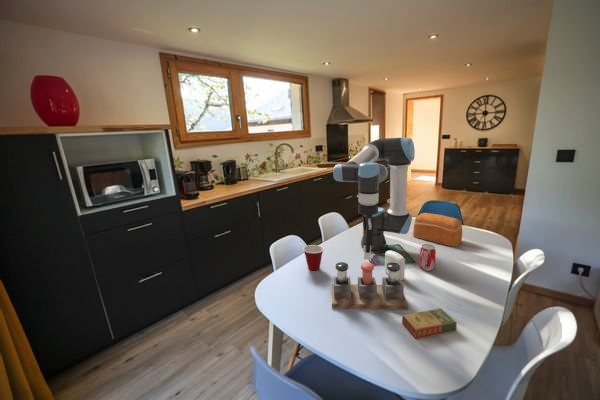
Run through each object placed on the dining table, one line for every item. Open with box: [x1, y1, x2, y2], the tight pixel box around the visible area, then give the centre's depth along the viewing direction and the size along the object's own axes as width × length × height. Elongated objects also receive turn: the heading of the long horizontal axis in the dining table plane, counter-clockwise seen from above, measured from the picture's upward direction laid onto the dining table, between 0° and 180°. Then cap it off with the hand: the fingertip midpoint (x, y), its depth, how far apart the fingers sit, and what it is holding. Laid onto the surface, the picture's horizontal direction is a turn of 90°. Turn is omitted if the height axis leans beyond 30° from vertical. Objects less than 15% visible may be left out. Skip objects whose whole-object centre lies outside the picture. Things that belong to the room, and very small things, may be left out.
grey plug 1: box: [335, 261, 349, 285], centre depth 112 cm, size 5×5×9 cm
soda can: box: [418, 243, 437, 272], centre depth 132 cm, size 7×7×12 cm
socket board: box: [331, 276, 409, 311], centre depth 112 cm, size 30×14×8 cm, turn 84°
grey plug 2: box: [387, 262, 400, 285], centre depth 109 cm, size 5×5×9 cm
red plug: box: [360, 261, 375, 285], centre depth 110 cm, size 5×5×9 cm
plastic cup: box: [302, 244, 325, 273], centre depth 138 cm, size 11×11×12 cm
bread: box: [412, 212, 463, 248], centre depth 165 cm, size 14×26×16 cm, turn 43°
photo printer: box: [384, 250, 406, 281], centre depth 127 cm, size 10×4×12 cm, turn 26°
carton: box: [401, 307, 457, 340], centre depth 95 cm, size 8×16×4 cm, turn 101°
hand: (367, 258), depth 108 cm, fingers closed
